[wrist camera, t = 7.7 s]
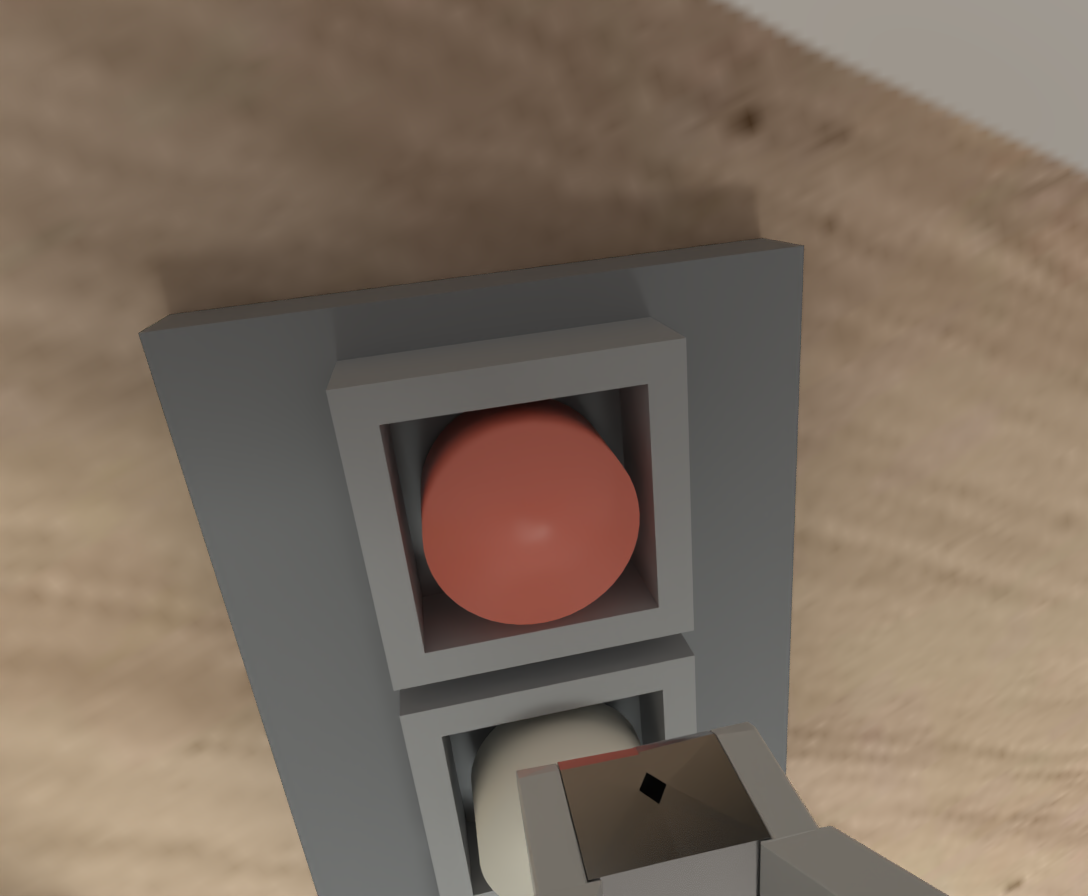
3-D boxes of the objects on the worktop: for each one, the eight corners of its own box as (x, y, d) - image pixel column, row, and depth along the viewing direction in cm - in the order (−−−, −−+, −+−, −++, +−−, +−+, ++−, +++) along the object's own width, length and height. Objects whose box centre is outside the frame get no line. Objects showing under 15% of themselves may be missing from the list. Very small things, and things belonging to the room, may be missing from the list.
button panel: (762, 237, 18) (862, 256, 14) (753, 902, 27) (812, 1026, 23) (169, 314, 16) (93, 360, 12) (374, 999, 25) (368, 1151, 21)
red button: (604, 380, 16) (633, 410, 14) (616, 553, 17) (644, 603, 15) (405, 410, 15) (404, 446, 13) (437, 586, 17) (441, 642, 15)
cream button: (635, 681, 18) (665, 747, 16) (644, 811, 19) (672, 887, 17) (459, 718, 17) (466, 791, 15) (483, 849, 19) (492, 931, 17)
